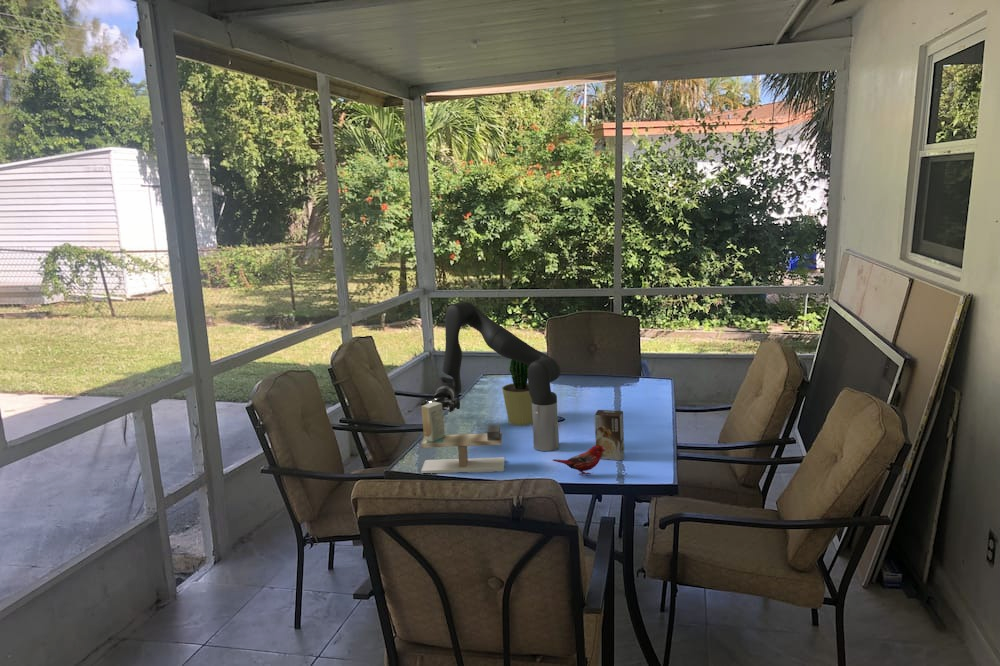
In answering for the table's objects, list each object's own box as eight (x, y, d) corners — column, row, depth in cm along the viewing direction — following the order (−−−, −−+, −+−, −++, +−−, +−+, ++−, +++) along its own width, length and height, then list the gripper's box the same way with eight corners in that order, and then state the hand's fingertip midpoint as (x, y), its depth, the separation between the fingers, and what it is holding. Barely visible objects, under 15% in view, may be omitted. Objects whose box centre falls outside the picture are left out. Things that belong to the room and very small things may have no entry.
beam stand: (504, 460, 236) (503, 437, 234) (503, 471, 226) (502, 447, 225) (425, 463, 237) (424, 440, 236) (421, 474, 227) (419, 450, 226)
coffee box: (625, 454, 236) (624, 410, 233) (621, 461, 230) (620, 416, 227) (599, 452, 239) (598, 409, 236) (595, 459, 233) (594, 414, 230)
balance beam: (501, 436, 233) (501, 424, 233) (501, 444, 226) (500, 432, 225) (424, 439, 235) (424, 427, 234) (421, 447, 227) (420, 435, 226)
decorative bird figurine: (607, 475, 218) (606, 445, 217) (553, 479, 217) (552, 450, 215) (605, 471, 221) (604, 442, 219) (552, 476, 220) (550, 447, 218)
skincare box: (436, 434, 234) (434, 400, 232) (445, 436, 231) (443, 402, 229) (423, 439, 229) (420, 405, 227) (431, 442, 227) (429, 407, 224)
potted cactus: (496, 423, 279) (492, 352, 273) (520, 413, 290) (517, 345, 284) (524, 429, 268) (520, 356, 263) (548, 420, 279) (545, 349, 274)
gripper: (424, 388, 255) (417, 400, 239) (461, 387, 254) (457, 399, 239) (425, 407, 256) (419, 420, 240) (462, 406, 256) (458, 419, 240)
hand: (438, 410), depth 240 cm, fingers open, 8 cm apart
